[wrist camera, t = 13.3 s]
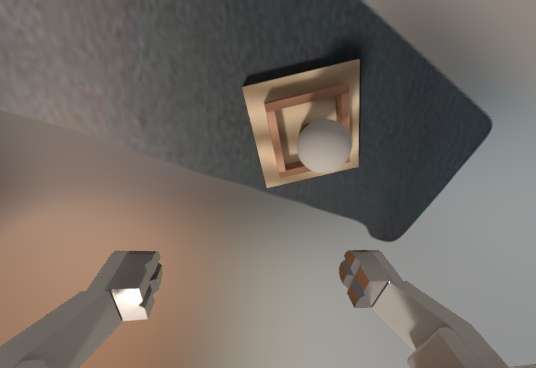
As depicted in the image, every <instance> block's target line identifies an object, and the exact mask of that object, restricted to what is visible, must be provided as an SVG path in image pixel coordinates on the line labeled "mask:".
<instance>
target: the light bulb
mask: <svg viewBox="0 0 536 368" xmlns="http://www.w3.org/2000/svg"><path fill="white" fill-rule="evenodd" d="M351 149H352V141H351V137H350V134H349V132H348V130H347V129H346V128H345V127H344V126H343V125H342V124H341V123H339V122H337V121H334V120H331V119H321V120H317V121H314V122H312V123H307V124H305V125H303V126H302V127H301V129H300V131H299V138H298V142H297V153H298V156H299V159H300V160H301V162H302V163H303V164H304V165H305V166H306V167H307V168H308V169H310V170H312V171H314V172H318V173H328V172H332V171H335V170H337V169H338V168H340V167H341V166H342V165H343V164H344V163H345V162H346V161H347V159H348V158H349V156H350V153H351Z"/></svg>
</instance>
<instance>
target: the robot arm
mask: <svg viewBox="0 0 536 368" xmlns="http://www.w3.org/2000/svg"><path fill="white" fill-rule="evenodd" d="M344 257H345V260H344V261H343V262H341V264H340V267H339V275H340V279H341V281H342V283H343V284H344V285H345V286H346V287H347V288H348V291H347V294H348V296H349V298H350V300H351V302H352V304H353V306H354V308H365V307H372V309H373V310H374V311H375V312H376V313H377V314H378V315H379V316H380V317H381V318H382V319H383V320H384V321H385V322H386V323H387V324H388V325H389V326H390V327H391V328H392V329H393V330H394V331H395V332H396V333H397V334H398V335H399V336H400V337H401V338H402V339H403V340H404V341H405V342H406V343H407V344H408V345H409V346H410V347H411V348H412V349H413V350H414V351H415V352H414V353H413V354H412V355H410V357H409V358H408V361H407V362H408V364H409V366H410V367H411V368H536V364H531V365H524V366H515V367H508V366H507V364H506V363H505V362H504V361H503V360H502V359H501V358H500V357H499V355H498V354H497V353H496V352H495V351H494V350H493V349H492V348H491V347H490V345H489V344H488V343H487V342H486V341H485V340H484V339H483V337H482V336H481V335H480V334H479V333H478V332H477V331H476V330H475V328H474V327H473V326H472V325H471V324H469V323H468V322H466V321H465V320H463V319H462V318H461V317H459V316H458V315H456V314H455V313H453V312H452V311H450V310H449V309H447V308H446V307H444V306H443V305H441V304H440V303H438V302H437V301H435V300H434V299H432V298H430V297H429V296H428V295H426V294H425V293H423V292H422V291H420V290H419V289H417V288H416V287H414V286H413V285H412V284H410V283H409V282H407V281H403V280H402V279H401V277H400V276H399V275H398V273H397V272H396V271H395V269H394V268H393V267H392V265H391V264H390V263H389V261H388V260H387V259H386V258H385V256H384V255H383V254H382V252H380V251H379V250H368V251H367V250H352V251H351V250H349V251H347V252H346V253H345V255H344ZM159 260H160V254H159V252H157V251H156V252H155V251H115V252H114V253H112V254H111V255H110V257H109V258H108V260H107V261H106V263H105V264H104V266H103V267H102V268H101V270H100V271H99V273H98V274H97V276H96V277H95V279H94V280H93V282H92V283H91V285H90V286H89V288H88V289H87V291H81V292H80V293H78V294H77V295H75V296H74V297H72V298H71V299H69V300H68V301H66V302H65V303H64V304H62V305H60V306H59V307H58V308H56V309H55V310H53V311H52V312H50V313H49V314H47V315H46V316H44V317H43V318H42V319H40V320H39V321H37V322H35V323H34V324H33V325H31V326H30V327H28V328H27V329H25V330H24V331H22V332H21V333H19V334H18V335H16V336H15V337H13V338H12V339H10V340H9V341H8V342H6V343H5V344H3V345H2V346H0V368H79V367H80V366H81V365H82V364H83V363H84V362H85V361H86V360H87V359H88V358H89V357H90V355H92V353H93V352H94V351H95V350H96V349H97V348H98V347H99V346H100V345H101V344H102V343H103V342H104V341H105V340H106V339H107V338H108V337H109V336H110V335H111V334H112V333H113V332H114V331H115V330H116V328H117V327H118V326H119V325H120V324H121V323H122V321H129V320H141V319H148V317H149V314H150V311H151V309H152V306H153V303H154V297H153V294H154V293H155V292H156V291H157V290H158V289H159V287H160V284H161V279H162V265H161V264H159V263H158V262H159Z"/></svg>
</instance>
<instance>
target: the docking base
mask: <svg viewBox="0 0 536 368" xmlns="http://www.w3.org/2000/svg"><path fill="white" fill-rule="evenodd" d="M359 76H360V59H356V60H351V61H347V62H342V63H338V64H334V65H330V66H326V67H322V68H317V69H313V70H309V71H305V72H301V73H297V74H293V75H288V76H284V77H280V78H276V79H272V80H268V81H263V82H259V83H255V84H251V85H247V86H243V87H242V89H243V93H244V97H245V101H246V105H247V109H248V113H249V117H250V121H251V125H252V129H253V133H254V137H255V141H256V145H257V149H258V153H259V157H260V161H261V165H262V170H263V174H264V178H265V182H266V186H267V188H269V187H273V186H277V185H282V184H286V183H290V182H295V181H299V180H303V179H307V178H312V177H316V176H320V175H325V174H329V173H333V172H337V171H342V170H346V169H350V168H354V167H358V153H359ZM321 119H331V120H334V121H337V122H339V123H341V124H342V125H343V126H344V127H345V128H346V129H347V130H348V132H349V134H350V137H351V141H352V149H351V153H350V156H349V158H348V159H347V161H346V162H345V163H344V164H343V165H342V166H341V167H340V168H338V169H337V170H335V171H332V172H328V173H318V172H314V171H312V170H310V169H308V168H307V167H306V166H305V165H304V164H303V163H302V162H301V160H300V159H299V156H298V153H297V142H298V138H299V131H300V129H301V127H302V126H303V125H305V124H307V123H312V122H314V121H317V120H321Z"/></svg>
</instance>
